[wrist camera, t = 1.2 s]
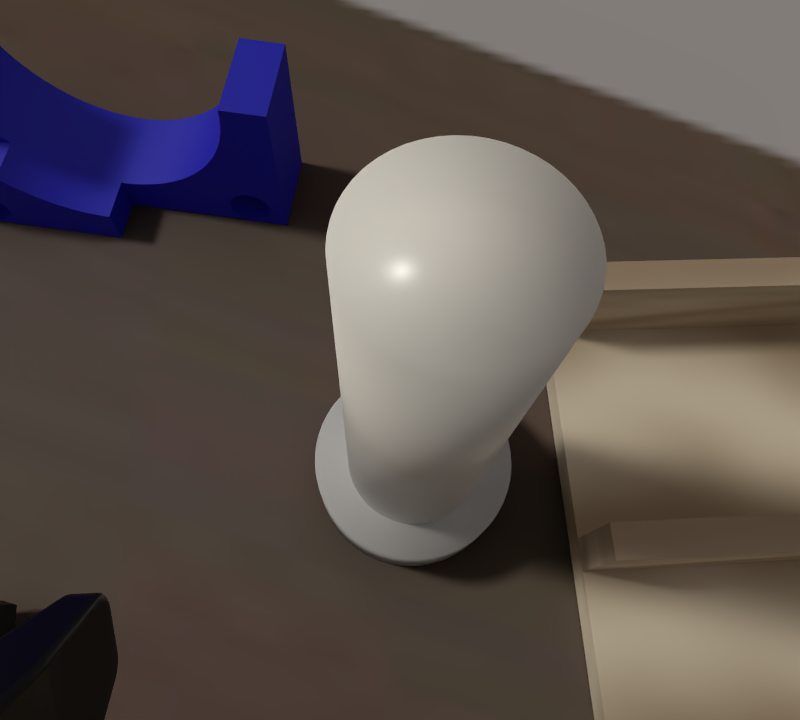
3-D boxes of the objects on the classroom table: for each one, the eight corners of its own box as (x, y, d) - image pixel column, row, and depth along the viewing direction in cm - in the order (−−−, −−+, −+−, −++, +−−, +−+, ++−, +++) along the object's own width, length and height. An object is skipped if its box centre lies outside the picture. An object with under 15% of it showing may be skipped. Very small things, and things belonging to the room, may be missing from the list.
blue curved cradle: (-34, 218, 26) (-144, 102, 20) (8, 125, 27) (-83, -5, 22) (280, 260, 26) (255, 156, 20) (301, 164, 27) (285, 43, 22)
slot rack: (1054, 913, 19) (1223, 980, 15) (627, 949, 18) (694, 1031, 14) (838, 274, 26) (915, 215, 23) (531, 282, 26) (559, 222, 22)
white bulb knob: (509, 561, 22) (720, 444, 9) (319, 571, 21) (245, 463, 8) (490, 384, 24) (634, 83, 11) (318, 390, 24) (259, 86, 11)
